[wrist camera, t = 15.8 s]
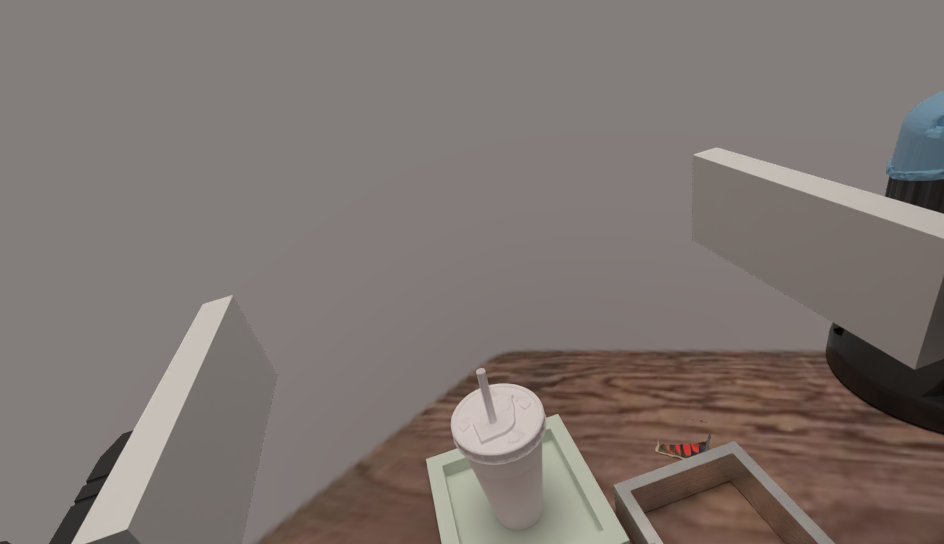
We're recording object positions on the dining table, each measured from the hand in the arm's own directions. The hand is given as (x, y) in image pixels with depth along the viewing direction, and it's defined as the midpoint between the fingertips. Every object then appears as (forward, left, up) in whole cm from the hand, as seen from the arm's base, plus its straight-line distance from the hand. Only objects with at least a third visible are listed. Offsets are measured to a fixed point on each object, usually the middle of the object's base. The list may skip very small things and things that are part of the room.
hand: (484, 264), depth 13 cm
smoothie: (0, -12, -27) cm, 29 cm away
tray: (0, -12, -27) cm, 30 cm away
